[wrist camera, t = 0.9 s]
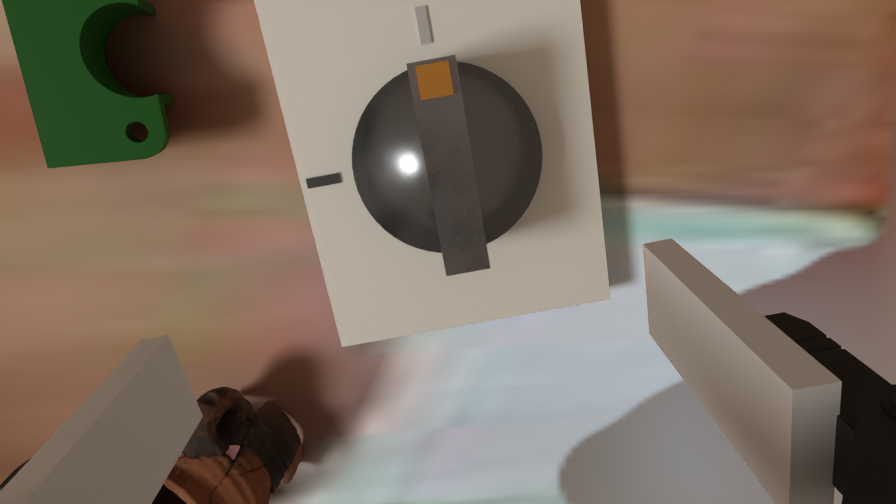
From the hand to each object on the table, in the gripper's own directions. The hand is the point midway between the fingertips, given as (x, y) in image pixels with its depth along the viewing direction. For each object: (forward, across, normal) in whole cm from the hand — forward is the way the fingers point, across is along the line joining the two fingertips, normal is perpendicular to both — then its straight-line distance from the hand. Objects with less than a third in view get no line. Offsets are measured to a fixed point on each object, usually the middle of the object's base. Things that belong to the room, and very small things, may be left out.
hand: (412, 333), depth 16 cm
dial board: (+22, -2, 0) cm, 22 cm away
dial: (+20, -2, 0) cm, 20 cm away
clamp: (+23, +16, -10) cm, 30 cm away
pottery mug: (+21, +17, +17) cm, 32 cm away
